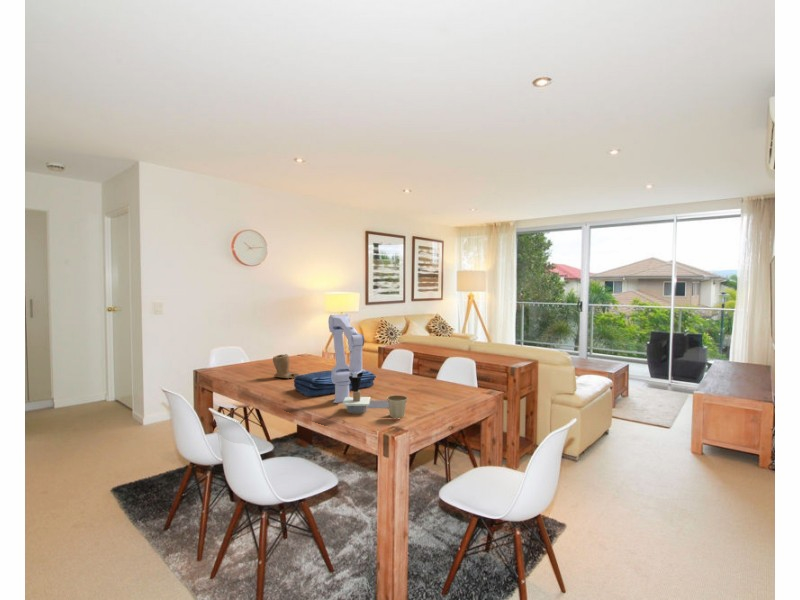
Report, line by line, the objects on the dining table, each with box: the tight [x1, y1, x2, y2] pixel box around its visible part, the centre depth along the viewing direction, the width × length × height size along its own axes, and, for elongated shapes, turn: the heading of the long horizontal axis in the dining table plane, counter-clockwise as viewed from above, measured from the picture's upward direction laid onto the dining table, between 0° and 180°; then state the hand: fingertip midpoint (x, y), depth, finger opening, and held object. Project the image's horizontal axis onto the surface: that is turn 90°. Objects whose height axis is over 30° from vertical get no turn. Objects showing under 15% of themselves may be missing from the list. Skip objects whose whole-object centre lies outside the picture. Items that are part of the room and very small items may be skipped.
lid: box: [341, 390, 371, 407], centre depth 197 cm, size 12×12×5 cm
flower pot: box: [386, 394, 408, 420], centre depth 189 cm, size 9×9×9 cm
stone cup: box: [272, 353, 300, 379], centre depth 269 cm, size 15×12×15 cm
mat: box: [366, 400, 389, 409], centre depth 207 cm, size 13×13×1 cm
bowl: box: [346, 406, 367, 414], centre depth 197 cm, size 9×9×4 cm
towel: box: [293, 369, 377, 398], centre depth 242 cm, size 24×43×10 cm, turn 129°
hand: (356, 389), depth 197 cm, fingers open, 7 cm apart
